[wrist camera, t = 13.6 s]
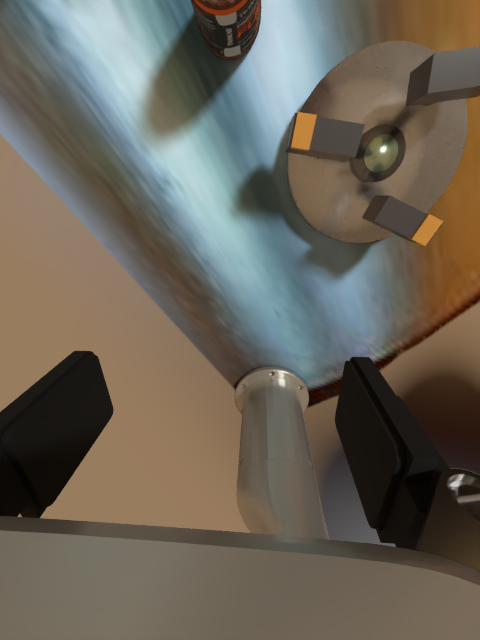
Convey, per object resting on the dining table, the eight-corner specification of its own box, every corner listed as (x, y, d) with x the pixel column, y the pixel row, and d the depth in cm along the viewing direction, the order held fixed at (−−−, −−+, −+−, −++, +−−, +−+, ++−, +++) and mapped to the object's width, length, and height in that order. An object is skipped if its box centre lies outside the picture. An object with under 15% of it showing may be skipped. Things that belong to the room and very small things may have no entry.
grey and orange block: (395, 113, 26) (428, 93, 21) (399, 81, 25) (435, 51, 20) (460, 104, 25) (511, 81, 20) (467, 70, 24) (523, 37, 19)
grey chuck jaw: (355, 216, 30) (374, 221, 25) (368, 194, 29) (391, 194, 24) (399, 238, 31) (426, 246, 26) (413, 217, 30) (445, 222, 25)
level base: (427, 238, 33) (447, 244, 29) (283, 241, 34) (286, 247, 31) (480, 45, 25) (516, 20, 21) (291, 58, 26) (295, 37, 23)
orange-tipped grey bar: (345, 136, 27) (366, 123, 22) (338, 164, 28) (356, 157, 23) (288, 127, 27) (295, 111, 22) (283, 155, 28) (288, 146, 23)
